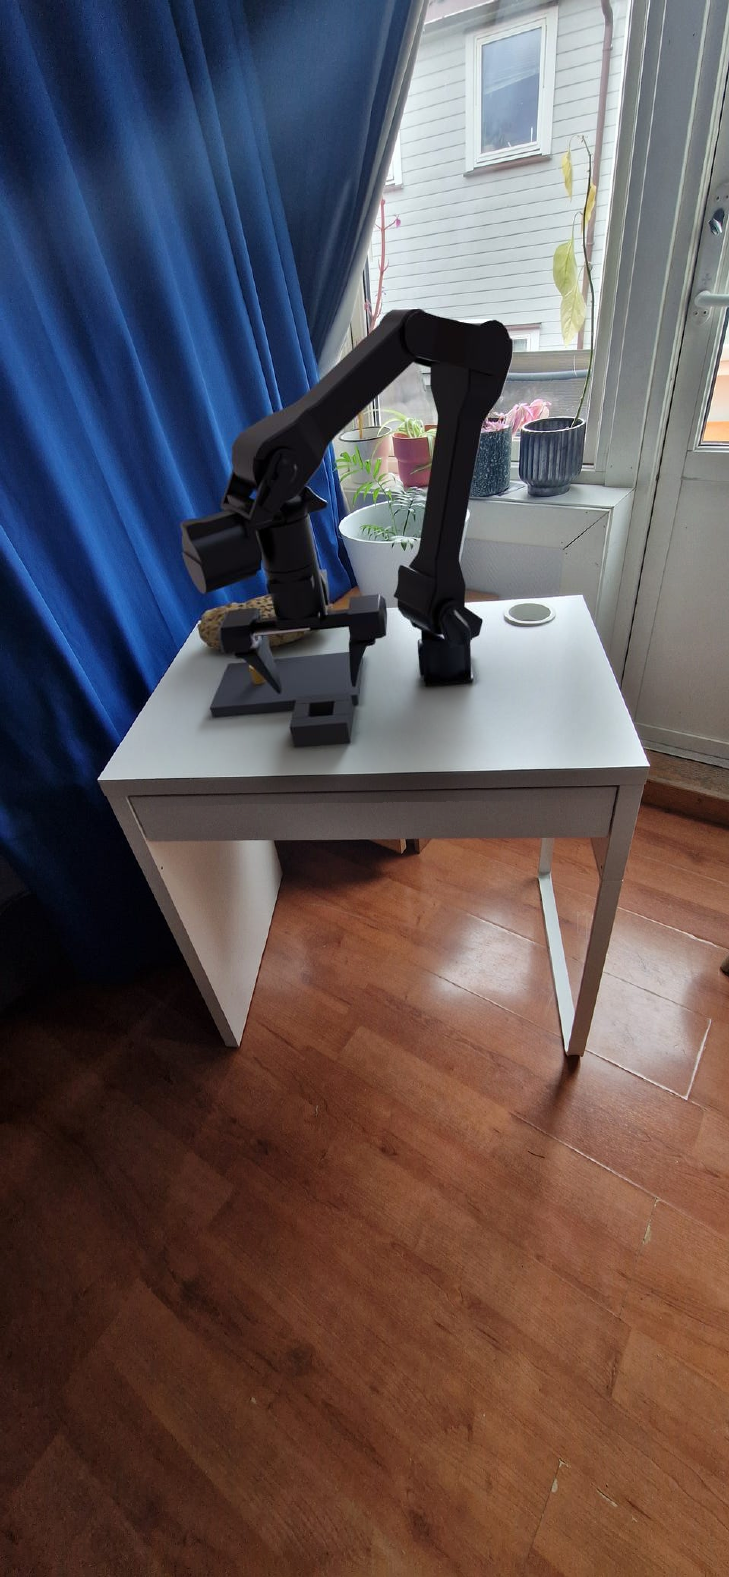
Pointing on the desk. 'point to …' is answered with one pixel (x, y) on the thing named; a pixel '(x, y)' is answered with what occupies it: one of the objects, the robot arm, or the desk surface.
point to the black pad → (322, 719)
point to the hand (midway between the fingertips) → (317, 688)
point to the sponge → (263, 604)
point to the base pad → (283, 684)
